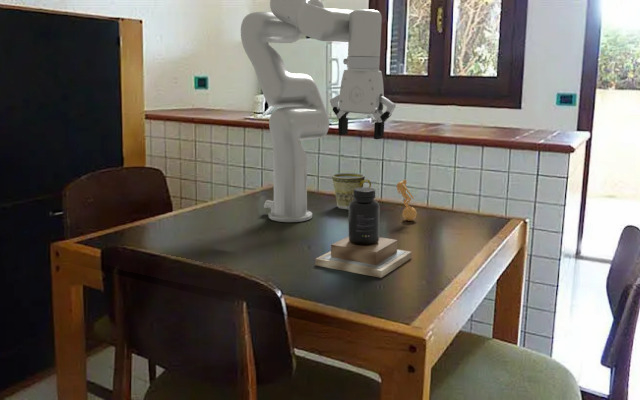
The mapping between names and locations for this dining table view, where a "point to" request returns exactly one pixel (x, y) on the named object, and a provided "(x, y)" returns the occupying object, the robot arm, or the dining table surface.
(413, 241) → the dining table surface
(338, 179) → the ceramic cup
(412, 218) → the figurine
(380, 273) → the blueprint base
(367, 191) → the supplement bottle
